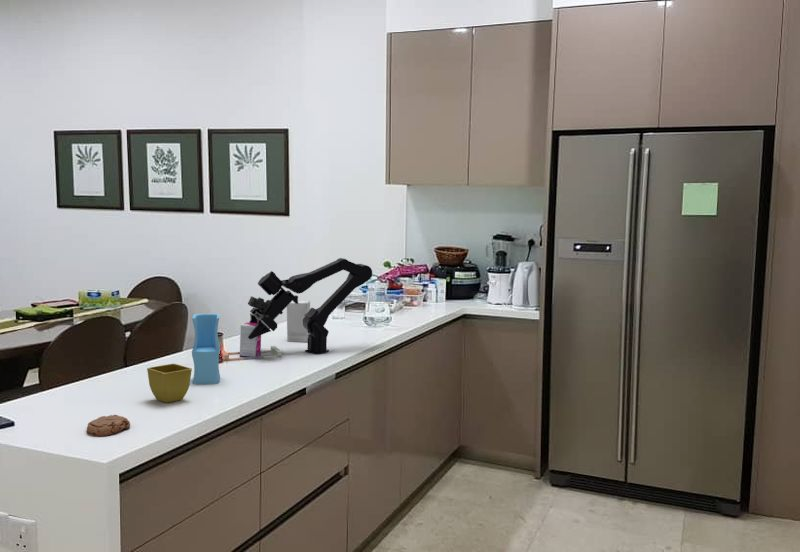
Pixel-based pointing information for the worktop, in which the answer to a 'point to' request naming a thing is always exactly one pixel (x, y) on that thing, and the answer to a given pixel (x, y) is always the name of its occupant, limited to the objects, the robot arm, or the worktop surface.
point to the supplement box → (249, 341)
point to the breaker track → (273, 349)
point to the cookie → (107, 425)
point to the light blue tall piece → (206, 349)
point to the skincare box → (297, 321)
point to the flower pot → (169, 381)
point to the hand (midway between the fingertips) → (246, 336)
